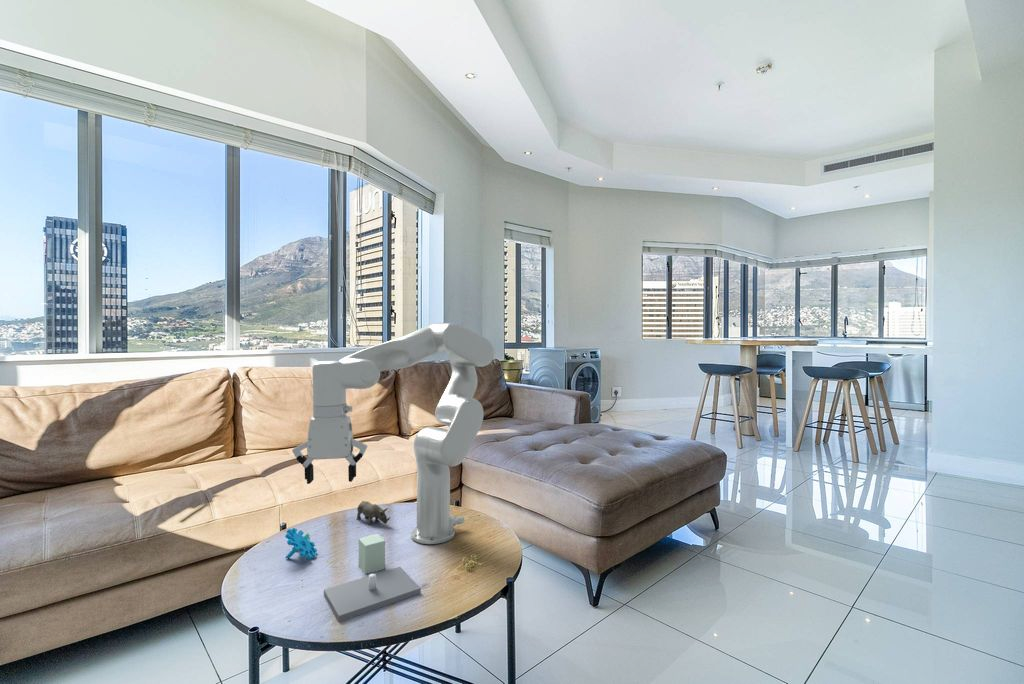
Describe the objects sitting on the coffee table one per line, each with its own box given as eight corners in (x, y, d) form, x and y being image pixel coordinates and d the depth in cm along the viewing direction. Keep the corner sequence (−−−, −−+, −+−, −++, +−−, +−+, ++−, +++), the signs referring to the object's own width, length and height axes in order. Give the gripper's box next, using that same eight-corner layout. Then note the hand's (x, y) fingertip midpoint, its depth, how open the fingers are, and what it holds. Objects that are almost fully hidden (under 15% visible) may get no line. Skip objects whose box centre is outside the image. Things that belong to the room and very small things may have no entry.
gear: (311, 560, 116) (283, 532, 116) (293, 578, 115) (265, 550, 116) (324, 546, 127) (299, 520, 127) (308, 563, 126) (282, 537, 127)
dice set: (466, 574, 114) (466, 566, 114) (457, 565, 119) (457, 558, 119) (484, 569, 117) (484, 561, 117) (475, 560, 122) (475, 553, 122)
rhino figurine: (383, 530, 139) (383, 510, 139) (353, 520, 146) (353, 501, 146) (394, 525, 142) (394, 506, 142) (364, 516, 150) (364, 497, 149)
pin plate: (399, 571, 114) (400, 554, 114) (420, 593, 105) (420, 574, 105) (323, 594, 104) (323, 576, 104) (338, 621, 94) (338, 601, 94)
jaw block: (378, 560, 120) (378, 533, 120) (385, 568, 116) (385, 540, 116) (358, 566, 117) (358, 538, 117) (365, 574, 113) (365, 545, 113)
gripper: (368, 408, 118) (369, 474, 118) (297, 410, 115) (298, 478, 116) (363, 413, 110) (364, 484, 111) (287, 415, 108) (288, 488, 108)
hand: (330, 481), depth 113 cm, fingers open, 9 cm apart
